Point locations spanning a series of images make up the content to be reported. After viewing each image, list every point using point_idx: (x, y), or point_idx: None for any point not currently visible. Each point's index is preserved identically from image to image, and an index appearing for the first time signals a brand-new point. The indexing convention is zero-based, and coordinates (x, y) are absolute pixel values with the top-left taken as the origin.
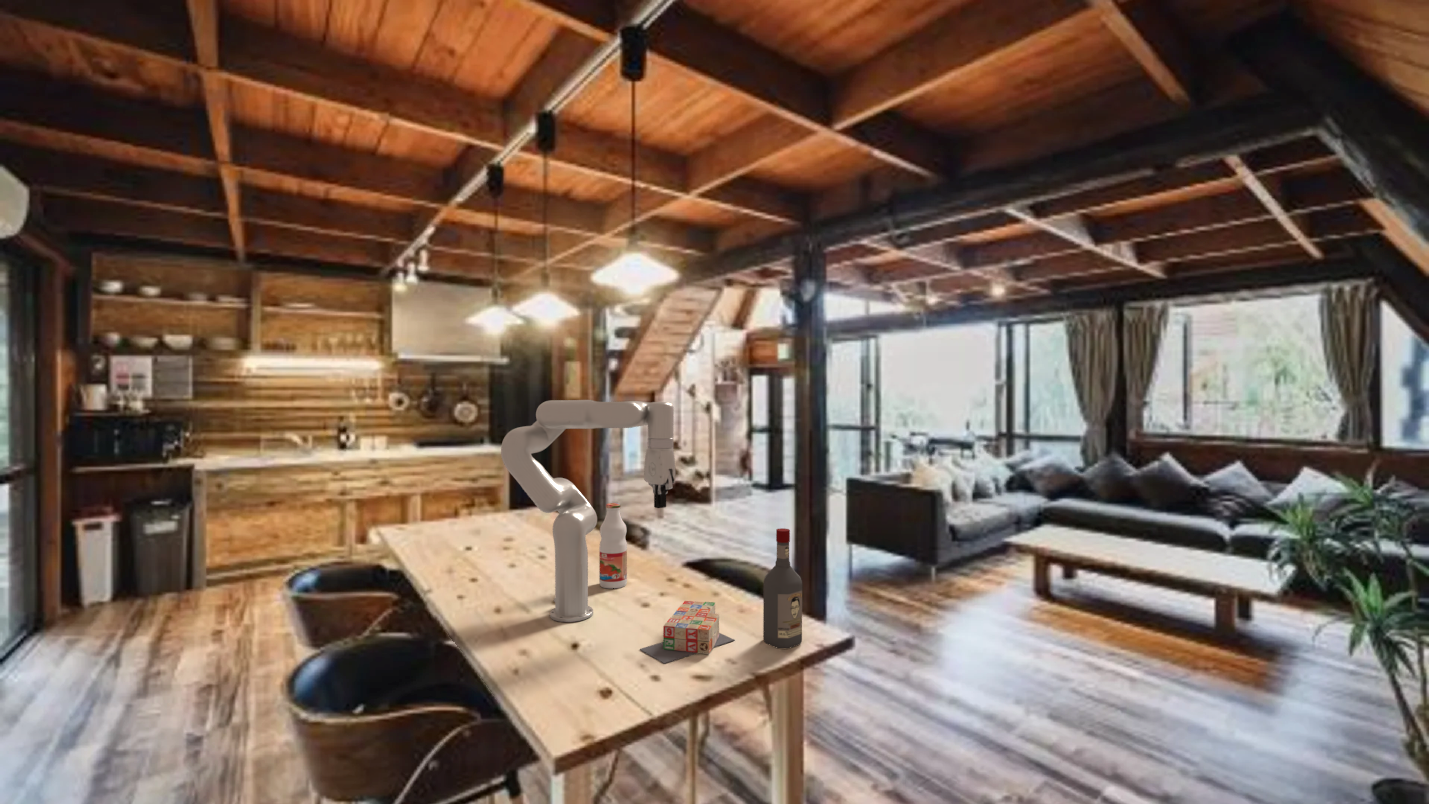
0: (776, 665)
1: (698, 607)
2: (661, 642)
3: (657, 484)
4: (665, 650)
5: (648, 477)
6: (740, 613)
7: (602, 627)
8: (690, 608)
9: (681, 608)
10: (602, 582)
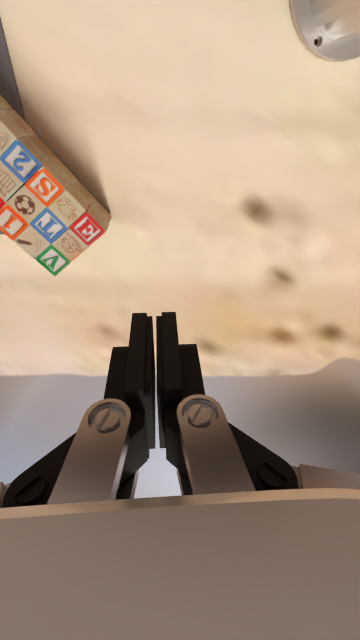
0: None
1: (40, 227)
2: (14, 83)
3: (22, 507)
4: None
5: (312, 610)
6: (97, 323)
7: (205, 6)
8: (41, 206)
9: (53, 188)
10: None
